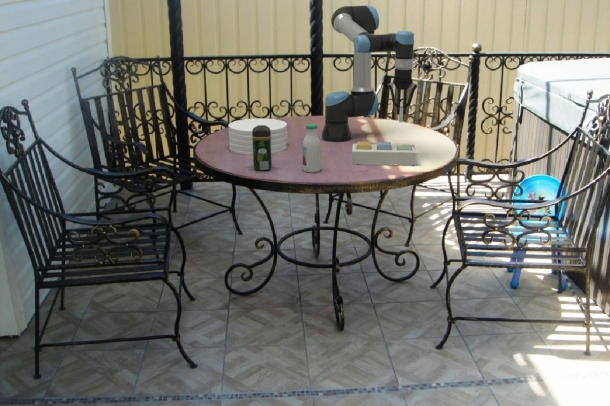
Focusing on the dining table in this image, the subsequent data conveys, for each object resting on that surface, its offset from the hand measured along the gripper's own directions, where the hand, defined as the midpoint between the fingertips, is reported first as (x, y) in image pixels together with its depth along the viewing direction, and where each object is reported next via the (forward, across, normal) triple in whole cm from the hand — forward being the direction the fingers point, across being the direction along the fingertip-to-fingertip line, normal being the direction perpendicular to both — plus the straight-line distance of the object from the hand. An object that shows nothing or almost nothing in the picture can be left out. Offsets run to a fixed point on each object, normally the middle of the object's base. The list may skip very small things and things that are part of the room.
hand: (400, 121), depth 295 cm
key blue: (+13, -7, -4) cm, 15 cm away
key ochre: (+13, -16, -4) cm, 21 cm away
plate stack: (+19, -67, +16) cm, 71 cm away
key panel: (+17, -7, -4) cm, 19 cm away
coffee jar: (+18, -60, -20) cm, 65 cm away
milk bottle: (+17, -38, -22) cm, 47 cm away
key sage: (+15, +2, -5) cm, 16 cm away
